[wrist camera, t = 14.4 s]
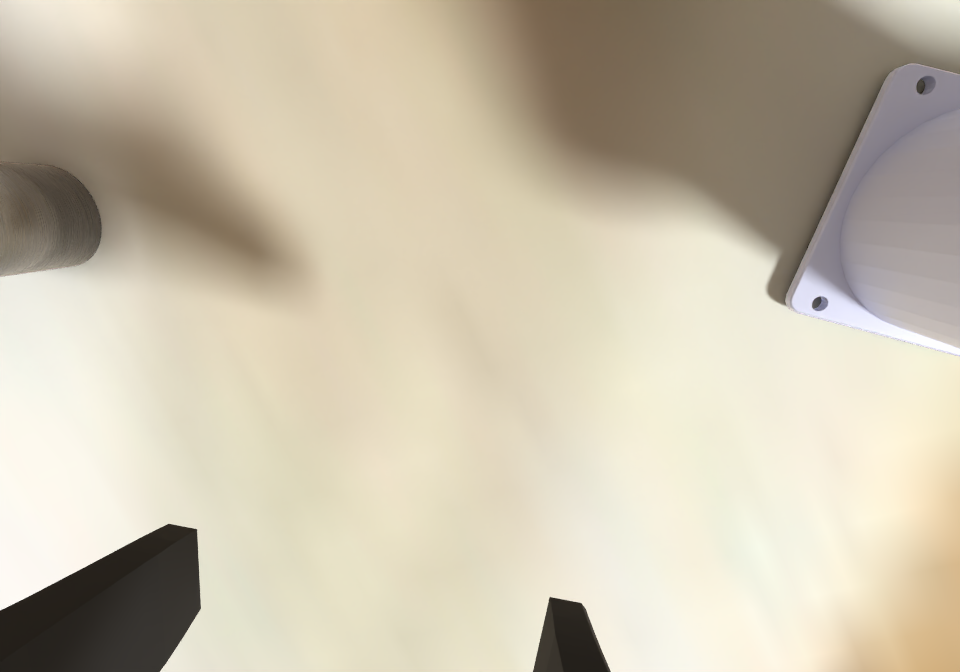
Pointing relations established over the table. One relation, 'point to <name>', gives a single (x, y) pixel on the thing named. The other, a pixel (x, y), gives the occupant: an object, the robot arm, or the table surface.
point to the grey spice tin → (44, 219)
